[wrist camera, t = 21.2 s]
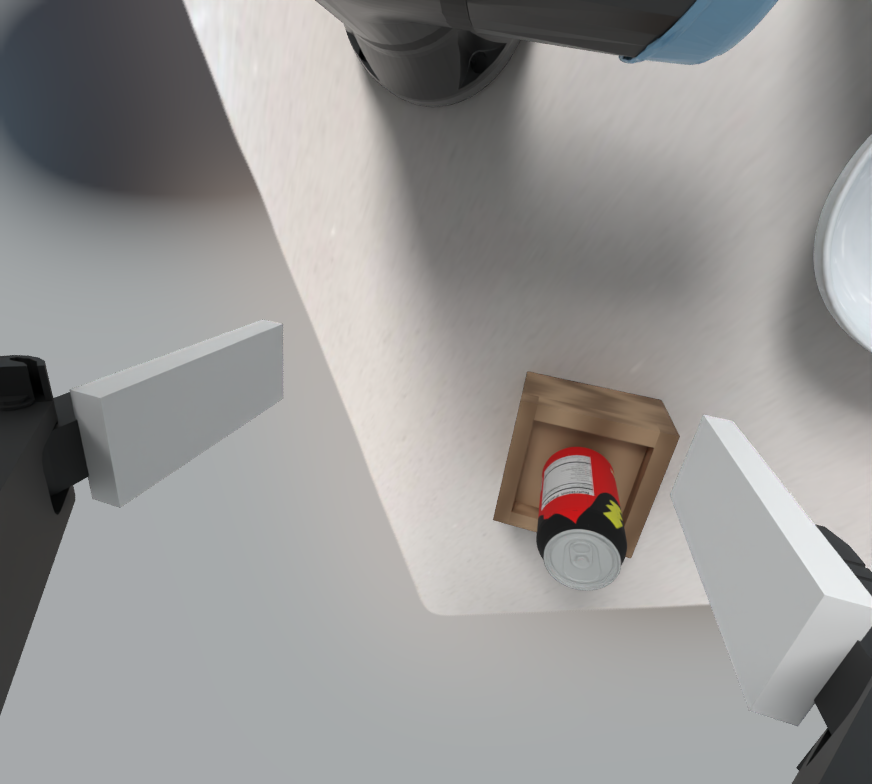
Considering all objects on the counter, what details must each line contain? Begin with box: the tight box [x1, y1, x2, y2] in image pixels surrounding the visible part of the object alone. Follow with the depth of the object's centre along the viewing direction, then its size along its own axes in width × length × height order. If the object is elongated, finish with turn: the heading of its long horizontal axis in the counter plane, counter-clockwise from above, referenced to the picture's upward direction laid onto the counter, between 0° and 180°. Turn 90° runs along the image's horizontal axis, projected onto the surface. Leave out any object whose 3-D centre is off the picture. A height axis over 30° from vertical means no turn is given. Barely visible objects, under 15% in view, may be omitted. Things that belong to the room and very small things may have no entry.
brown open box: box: [493, 372, 680, 558], centre depth 44 cm, size 13×13×8 cm
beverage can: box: [536, 447, 627, 590], centre depth 37 cm, size 6×6×12 cm
